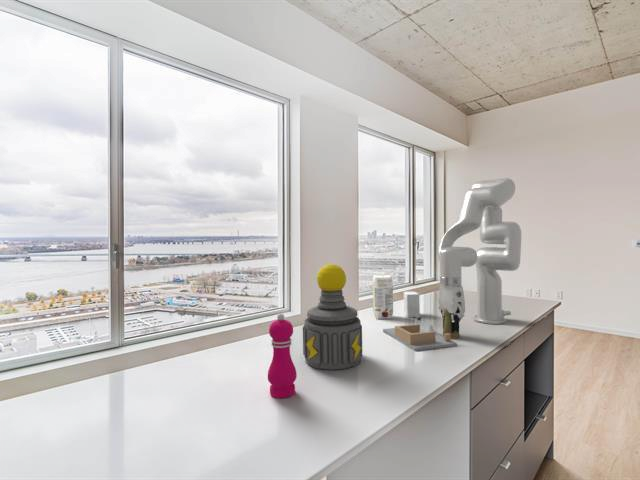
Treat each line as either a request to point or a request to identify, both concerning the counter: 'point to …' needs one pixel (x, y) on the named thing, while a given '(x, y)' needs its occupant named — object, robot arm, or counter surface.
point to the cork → (449, 325)
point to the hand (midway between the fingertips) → (451, 330)
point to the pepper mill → (281, 359)
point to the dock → (419, 337)
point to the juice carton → (383, 297)
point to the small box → (411, 304)
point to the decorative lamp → (332, 325)
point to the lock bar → (424, 324)
